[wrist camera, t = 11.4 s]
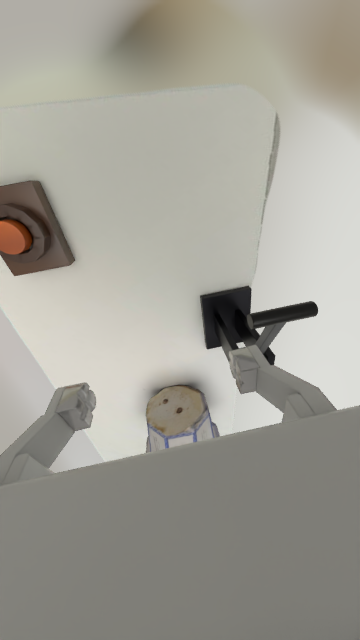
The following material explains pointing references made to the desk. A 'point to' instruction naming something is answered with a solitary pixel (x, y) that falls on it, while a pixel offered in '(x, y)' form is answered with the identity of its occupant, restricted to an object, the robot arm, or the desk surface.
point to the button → (14, 237)
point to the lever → (278, 320)
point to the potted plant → (178, 418)
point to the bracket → (229, 321)
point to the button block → (34, 229)
